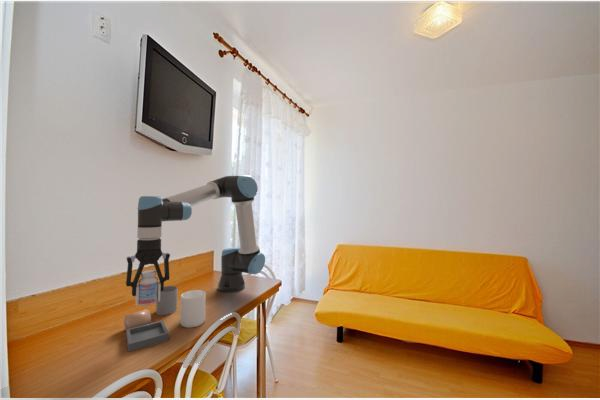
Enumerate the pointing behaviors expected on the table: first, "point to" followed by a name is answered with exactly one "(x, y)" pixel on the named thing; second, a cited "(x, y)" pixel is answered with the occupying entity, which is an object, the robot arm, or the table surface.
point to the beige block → (137, 319)
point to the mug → (192, 308)
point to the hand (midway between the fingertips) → (147, 302)
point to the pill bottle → (148, 288)
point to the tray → (146, 335)
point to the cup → (167, 301)
